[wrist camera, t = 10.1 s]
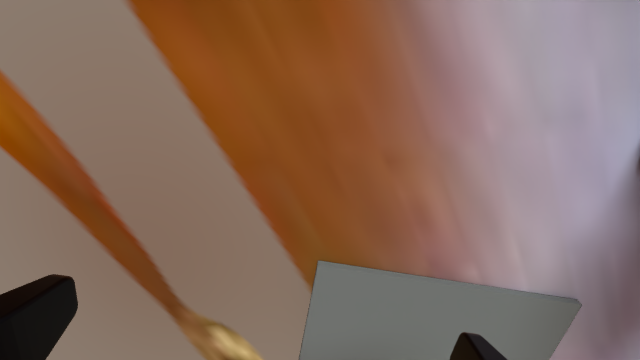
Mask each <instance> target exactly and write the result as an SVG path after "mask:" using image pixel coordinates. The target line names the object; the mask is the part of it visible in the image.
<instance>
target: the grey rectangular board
mask: <svg viewBox="0 0 640 360" xmlns="http://www.w3.org/2000/svg"><path fill="white" fill-rule="evenodd" d="M581 306H582V304H581V303H580V302H579V301H578V300H576V299H570V298H563V297H556V296H550V295H543V294H536V293H530V292H523V291H517V290H510V289H503V288H497V287H490V286H483V285H477V284H470V283H464V282H457V281H450V280H444V279H437V278H430V277H424V276H417V275H411V274H404V273H397V272H391V271H384V270H377V269H371V268H364V267H357V266H351V265H344V264H338V263H331V262H324V261H318V264H317V269H316V274H315V279H314V284H313V289H312V294H311V299H310V304H309V310H308V315H307V320H306V325H305V330H304V335H303V340H302V345H301V351H300V355H299V360H450V355H451V353H452V351H453V348H454V346H455V344H456V341H457V339H458V337H459V335H460V334H461V333H462V332H468V333H475V334H479V335H481V336H482V337H484V338H485V339H486V340H487V341H488V342H489V343H490V344H491V345H492V346H493V347H494V348H496V349H497V350H498V351H499V352H500V353H501V354H502V355H503V356H504V357H505V358H506V359H508V360H549V359H550V357H551V355H552V354H553V352H554V351H555V349H556V347H557V346H558V344H559V342H560V341H561V339H562V337H563V336H564V334H565V332H566V331H567V329H568V328H569V326H570V324H571V323H572V321H573V319H574V318H575V316H576V314H577V313H578V311H579V309H580V308H581Z"/></svg>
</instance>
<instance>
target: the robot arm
mask: <svg viewBox="0 0 640 360" xmlns="http://www.w3.org/2000/svg"><path fill="white" fill-rule="evenodd" d="M77 308H78V301H77V295H76V289H75V282H74V280H73V278H72V277H70V276H64V275H56V274H53V275H48V276H46V277H43V278H41V279H38V280H36V281H33V282H31V283H28V284H26V285H23V286H21V287H18V288H16V289H13V290H11V291H8V292H6V293H3V294H1V295H0V360H46V358H47V357H48V355H49V354H50V352H51V351H52V349H53V348H54V346H55V345H56V343H57V342H58V340H59V338H60V337H61V336H62V334H63V333H64V331H65V329H66V328H67V326H68V325H69V323H70V322H71V320H72V319H73V317H74V316H75V314H76V311H77ZM450 360H508V359H506V358H505V357H504V356H503V355H502V354H501V353H500V352H499V351H498V350H497V349H496V348H494V347H493V346H492V345H491V344H490V343H489V342H488V341H487V340H486V339H485V338H484V337H482V336H481V335H479V334H475V333H468V332H462V333H461V334H460V335H459V337H458V339H457V341H456V344H455V346H454V348H453V351H452V353H451V355H450Z"/></svg>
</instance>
